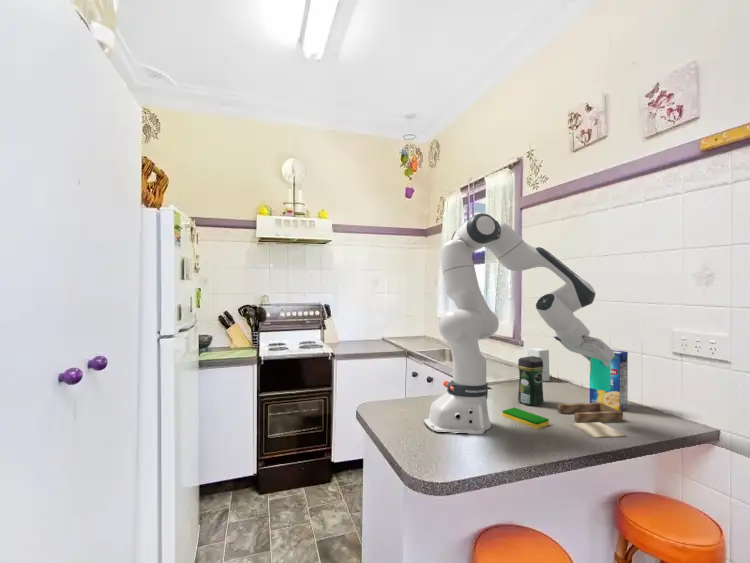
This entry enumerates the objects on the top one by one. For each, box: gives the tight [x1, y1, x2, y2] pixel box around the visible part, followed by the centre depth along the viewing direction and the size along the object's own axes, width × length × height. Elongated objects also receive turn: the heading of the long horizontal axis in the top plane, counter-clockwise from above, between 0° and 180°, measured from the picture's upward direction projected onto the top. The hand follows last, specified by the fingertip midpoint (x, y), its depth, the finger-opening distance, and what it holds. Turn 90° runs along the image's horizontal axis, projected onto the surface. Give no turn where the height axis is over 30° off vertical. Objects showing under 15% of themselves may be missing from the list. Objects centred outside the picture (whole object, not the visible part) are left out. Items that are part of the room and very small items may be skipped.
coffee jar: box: [517, 356, 544, 406], centre depth 147 cm, size 10×8×19 cm
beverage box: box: [589, 349, 629, 412], centre depth 144 cm, size 7×11×22 cm, turn 34°
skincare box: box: [527, 347, 551, 383], centre depth 184 cm, size 8×7×16 cm
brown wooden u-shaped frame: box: [557, 402, 624, 423], centre depth 132 cm, size 18×11×3 cm, turn 98°
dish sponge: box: [502, 407, 550, 430], centre depth 127 cm, size 7×14×2 cm, turn 33°
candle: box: [589, 357, 611, 391], centre depth 125 cm, size 6×6×12 cm
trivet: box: [570, 422, 627, 439], centre depth 119 cm, size 11×11×1 cm
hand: (600, 362), depth 125 cm, fingers closed on candle, 6 cm apart
